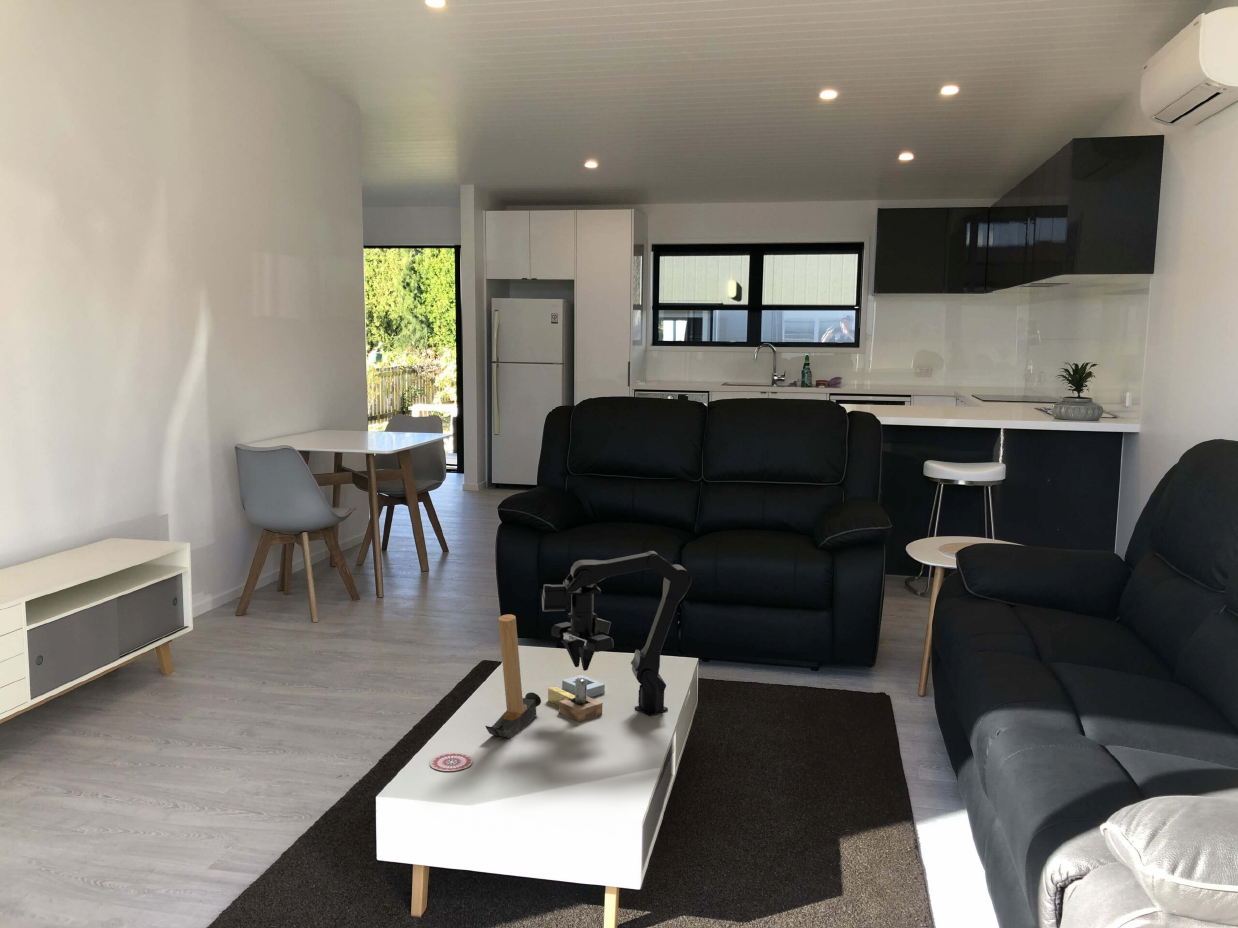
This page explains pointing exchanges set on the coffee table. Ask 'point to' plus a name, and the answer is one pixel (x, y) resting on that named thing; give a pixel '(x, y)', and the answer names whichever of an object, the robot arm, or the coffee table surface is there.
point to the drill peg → (581, 691)
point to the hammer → (513, 685)
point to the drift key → (559, 695)
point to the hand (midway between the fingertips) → (581, 668)
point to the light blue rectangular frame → (592, 686)
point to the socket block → (580, 709)
